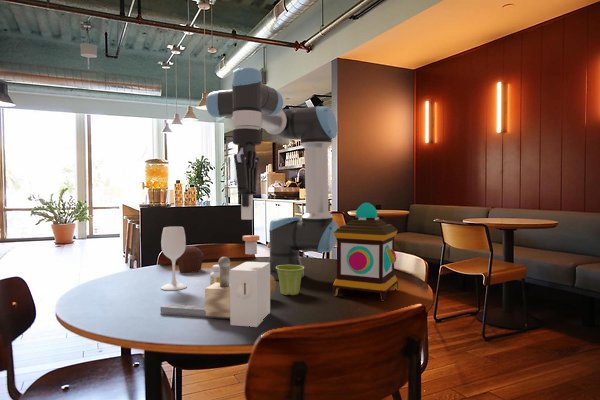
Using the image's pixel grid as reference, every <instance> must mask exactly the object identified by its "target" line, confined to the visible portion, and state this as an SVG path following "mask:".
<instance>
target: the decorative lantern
mask: <svg viewBox="0 0 600 400" xmlns="http://www.w3.org/2000/svg"><path fill="white" fill-rule="evenodd" d="M397 233H398V229H397V228H396V227H395V226H393V225H392V224H391V223H387V222H386V221H383V219H381V217H380V216H378V212H377V209H376V207H375V206H374V205H373V204H371V203H370V202H363V203H361V204H360V205H359V206H358V208H357V209H356V211H355V216H354V217H352V219H350V220H349V222H347V223H346V224H343V225H340V226H338V229H336V231H334V235H335V237H336V239H337V241H336V278H335V280H334V282H333V285H332V295H333V296H334V297H336V296H338V292H339V289H345V290H354V291H362V292H368V293H369V292H372V293H378V294H379V295H380V299H381V301H382V300H385V301H386V299H387V293H388V292H389V291H390V289H393V288H397V289H398V288H399V280H398V278H397V276H396V274H395V263H396V261H397V254H396V252H395V239H396V235H397Z"/></svg>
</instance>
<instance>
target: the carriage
mask: <svg viewBox="0 0 600 400" xmlns="http://www.w3.org/2000/svg"><path fill="white" fill-rule="evenodd" d="M218 264H219V266H220V283H217V282H216V283H214V284H212V285H208V286H207V287H205V288H204V306H205V311H206V316H217V317H230V266H231V259H230V258H229V257H227V256H221V257H220V258H219V259H218V263H217V265H218Z"/></svg>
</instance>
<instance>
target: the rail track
mask: <svg viewBox="0 0 600 400" xmlns="http://www.w3.org/2000/svg"><path fill="white" fill-rule="evenodd" d="M159 309H160V315H168V316H180V317H193V318H195V317H196V318H209V319H223V320H230V317H217V316H206V311H205V305H202V306H201V305H190V304H189V305H188V304H187V305H186V304H176V303H175V304H172V303H166V304H163V305H161V306H160V308H159Z"/></svg>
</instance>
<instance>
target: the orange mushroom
mask: <svg viewBox="0 0 600 400" xmlns="http://www.w3.org/2000/svg"><path fill="white" fill-rule="evenodd" d="M242 241H244V242H245V243H244V245H245V247H244V249H245V250H244V251H245V253H244V254H245V255H257V253H258V250H257V249H258V241H260V235H258V234H257V235H254V234H252V235H251V234H250V235H249V234H248V235H246V234H245V235H242Z"/></svg>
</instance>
